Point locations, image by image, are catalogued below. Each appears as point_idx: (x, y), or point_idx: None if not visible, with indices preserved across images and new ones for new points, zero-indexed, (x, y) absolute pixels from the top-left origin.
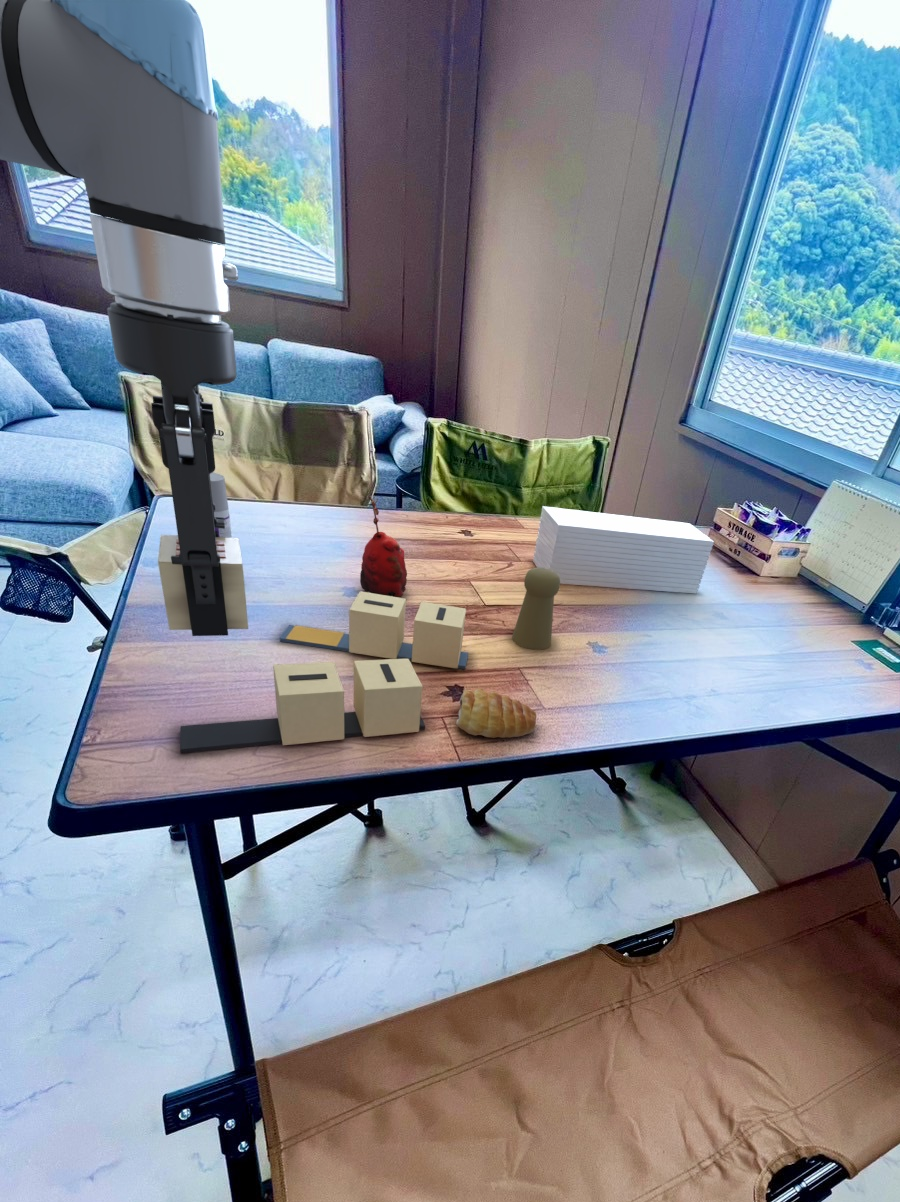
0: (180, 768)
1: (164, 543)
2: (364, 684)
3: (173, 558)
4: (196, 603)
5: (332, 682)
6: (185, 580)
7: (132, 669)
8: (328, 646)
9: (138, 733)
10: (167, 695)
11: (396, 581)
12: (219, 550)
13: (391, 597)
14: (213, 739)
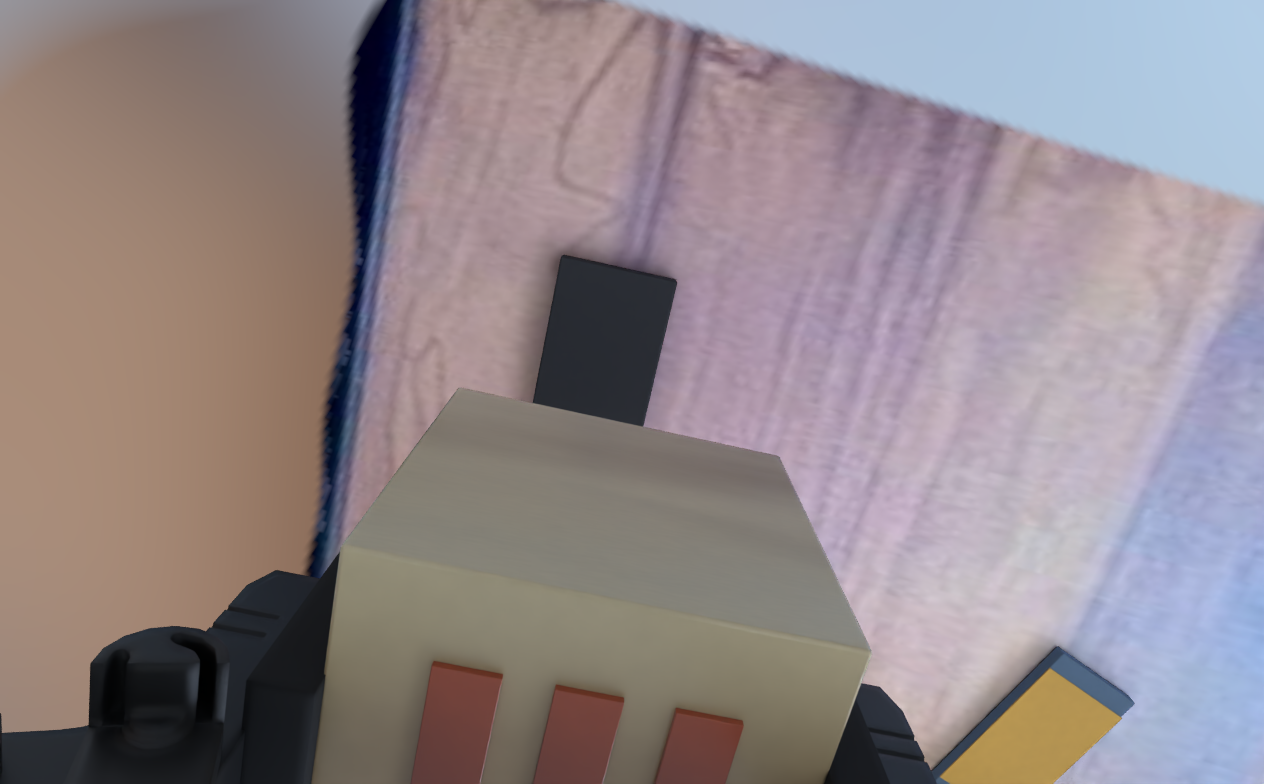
0: (496, 238)
1: (691, 642)
2: None
3: (92, 668)
4: (275, 572)
5: None
6: (298, 608)
7: (1073, 221)
8: (955, 756)
9: (703, 172)
10: (875, 283)
11: None
12: None
13: None
14: (577, 344)
